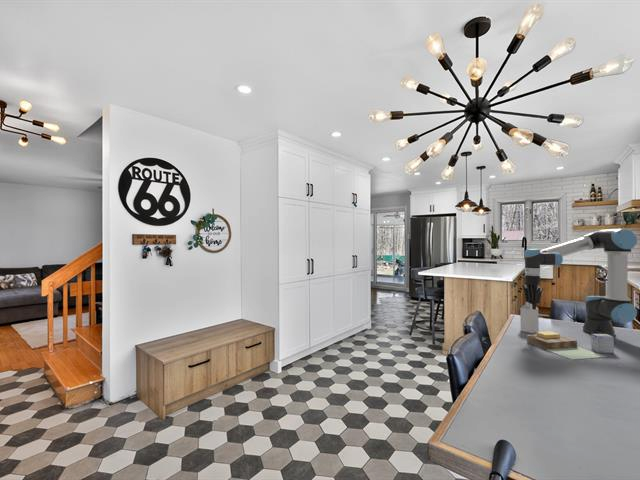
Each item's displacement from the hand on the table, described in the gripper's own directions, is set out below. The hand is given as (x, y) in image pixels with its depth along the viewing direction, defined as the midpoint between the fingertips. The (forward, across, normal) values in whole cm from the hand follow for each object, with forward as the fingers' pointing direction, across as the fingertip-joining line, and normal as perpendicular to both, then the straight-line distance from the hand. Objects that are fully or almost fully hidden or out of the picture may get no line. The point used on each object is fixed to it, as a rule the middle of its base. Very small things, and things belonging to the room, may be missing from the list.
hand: (532, 314), depth 187 cm
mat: (+14, +26, 0) cm, 30 cm away
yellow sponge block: (+10, +10, 0) cm, 14 cm away
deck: (+14, +12, 0) cm, 19 cm away
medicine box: (+14, +26, +17) cm, 34 cm away
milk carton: (+14, -13, +10) cm, 22 cm away
